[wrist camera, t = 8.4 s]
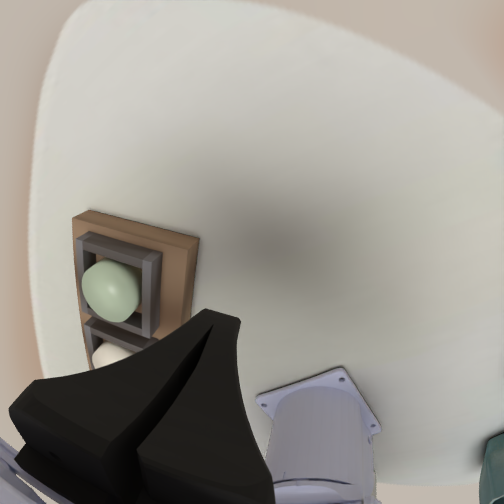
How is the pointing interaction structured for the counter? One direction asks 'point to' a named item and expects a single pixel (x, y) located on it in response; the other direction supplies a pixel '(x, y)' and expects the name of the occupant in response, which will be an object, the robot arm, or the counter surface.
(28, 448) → the robot arm
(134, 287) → the sage button
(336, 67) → the counter surface
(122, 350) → the cream button
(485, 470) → the flower pot
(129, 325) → the button board
